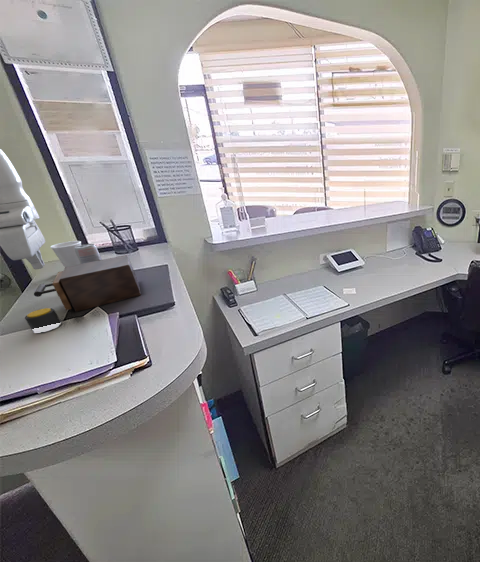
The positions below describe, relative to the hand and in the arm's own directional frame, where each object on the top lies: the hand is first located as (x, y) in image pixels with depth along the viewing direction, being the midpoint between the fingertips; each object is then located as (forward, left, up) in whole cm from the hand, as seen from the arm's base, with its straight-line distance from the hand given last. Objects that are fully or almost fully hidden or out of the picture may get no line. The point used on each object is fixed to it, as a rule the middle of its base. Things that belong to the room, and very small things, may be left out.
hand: (39, 267), depth 81 cm
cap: (-1, -13, -12) cm, 18 cm away
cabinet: (+11, 0, -12) cm, 16 cm away
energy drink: (+8, +20, -12) cm, 25 cm away
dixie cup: (+1, +41, -12) cm, 43 cm away
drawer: (+6, 0, -11) cm, 13 cm away
